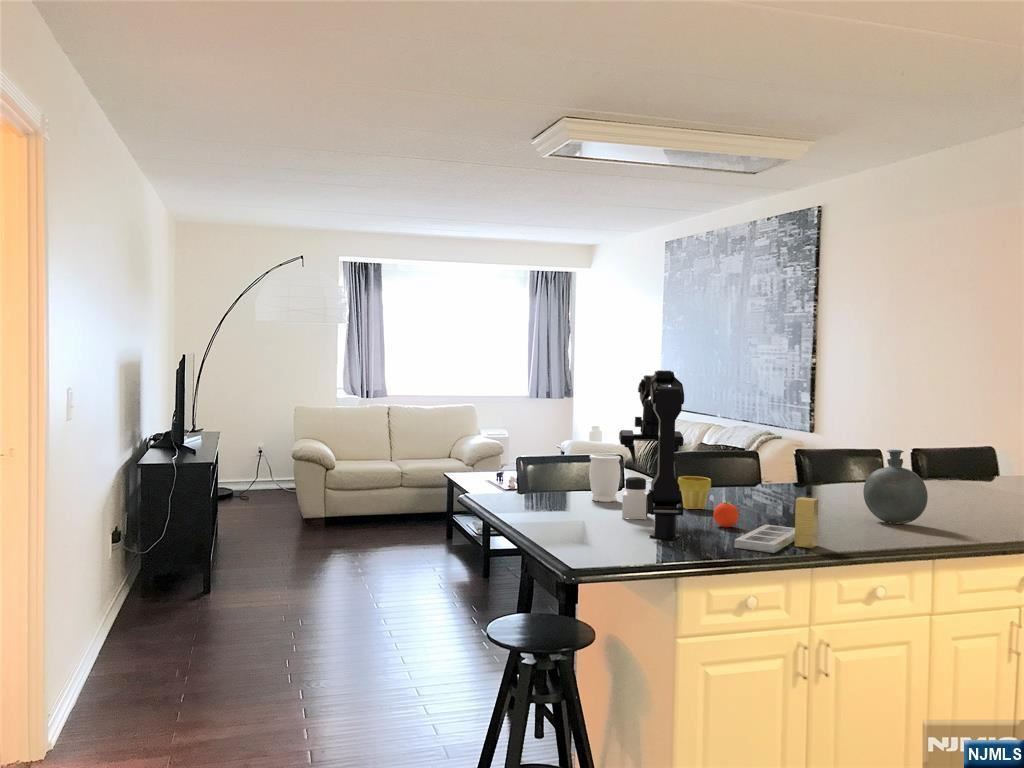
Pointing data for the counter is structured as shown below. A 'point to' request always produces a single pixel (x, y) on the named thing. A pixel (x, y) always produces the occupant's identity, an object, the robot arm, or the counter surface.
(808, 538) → the yellow tall block
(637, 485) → the medicine bottle
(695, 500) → the plant pot
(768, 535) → the white compartment tray
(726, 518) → the tomato
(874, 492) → the flask
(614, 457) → the jar
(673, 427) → the robot arm
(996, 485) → the counter surface
